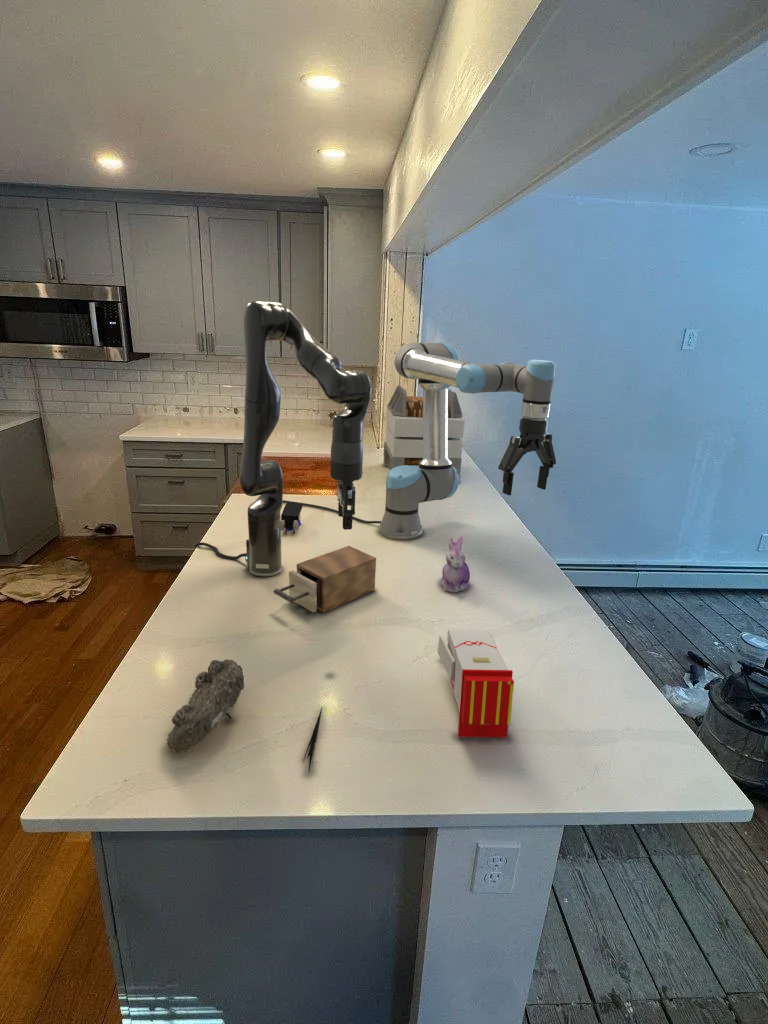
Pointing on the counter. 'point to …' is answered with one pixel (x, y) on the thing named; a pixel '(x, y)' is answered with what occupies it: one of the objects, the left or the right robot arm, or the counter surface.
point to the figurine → (455, 568)
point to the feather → (313, 740)
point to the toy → (478, 682)
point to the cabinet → (342, 575)
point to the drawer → (302, 590)
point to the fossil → (206, 705)
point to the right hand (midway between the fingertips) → (524, 491)
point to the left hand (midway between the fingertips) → (344, 522)
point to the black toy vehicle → (291, 517)
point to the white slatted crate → (418, 430)
